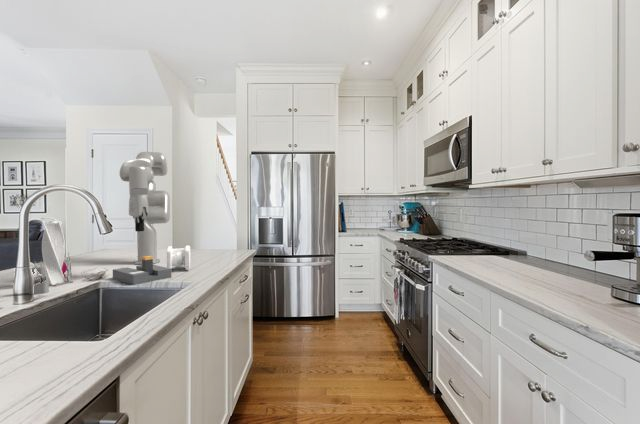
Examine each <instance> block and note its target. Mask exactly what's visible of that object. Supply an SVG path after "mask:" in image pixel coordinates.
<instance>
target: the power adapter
mask: <svg viewBox="0 0 640 424" xmlns="http://www.w3.org/2000/svg"><path fill="white" fill-rule="evenodd" d="M36 263H37V262H36V261H35V260H34V267H31V268H30V270H31V269H32V272H33V274H34V273H35V272H34V269H35V268H36V269H37V271H38V272H39V273H40V274H42V275H44V276H46V280H45V281H44V282H43V283H41V284H37V285H35V286H34V293H35V294H34V295H42V294H47V293H49V292H50V286H49V277H48V273H46V269H45V266H43V264H42V263H43V262H42V260H40V266H36V265H37V264H36Z"/></svg>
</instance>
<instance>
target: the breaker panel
mask: <svg viewBox="0 0 640 424" xmlns="http://www.w3.org/2000/svg"><path fill="white" fill-rule="evenodd" d="M171 278H172V269H171V268H167V266H166V267H165V266H160V265H155V264H153V274H150V275H149V273H148V272H144V271H142V264H138V265H136V267H135V268H131V267H129V266H127V267H120V268H114V269H112V280H113V279H114V280H116V281H120V282H122V283H127V284H130V285H133V286H135V285H139V284H145V283H150V282H155V281H160V280H165V279H171Z"/></svg>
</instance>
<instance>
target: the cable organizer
mask: <svg viewBox="0 0 640 424" xmlns="http://www.w3.org/2000/svg"><path fill="white" fill-rule="evenodd" d="M191 252H192V251H191V246H190V245H189V244H188V245H185V247H182V248H181V247H180V248H173V246H172V245H168V247H167V249H166V268H171V270H172V269H176V268H178V267H179V268H185V270H186V271H189V270H191Z"/></svg>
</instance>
